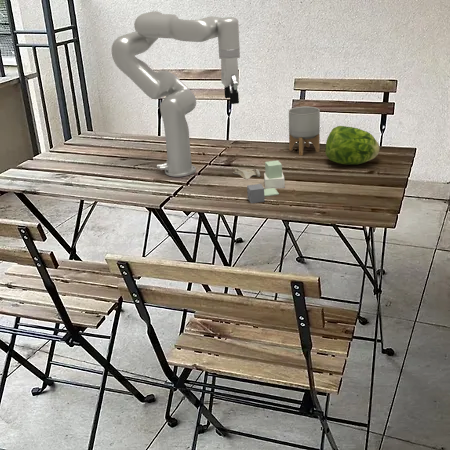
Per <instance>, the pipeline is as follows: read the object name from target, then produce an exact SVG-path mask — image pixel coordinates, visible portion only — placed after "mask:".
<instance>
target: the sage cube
mask: <svg viewBox="0 0 450 450" xmlns="http://www.w3.org/2000/svg"><path fill="white" fill-rule="evenodd" d="M264 165H265V166H264V169H265V170H264V171H265V172H264V173H265V174H266V176H267V177H268V178H269V179H273V178H281V177H282V172H283V165H282V163H281V162H280V160H278V159H277V160H270V161H265V162H264Z"/></svg>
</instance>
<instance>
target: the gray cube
mask: <svg viewBox="0 0 450 450" xmlns="http://www.w3.org/2000/svg"><path fill="white" fill-rule="evenodd" d="M264 189H265V187H264V186H263V184H262V183H257V184H256V183H255V184H248V185H246V190H247V191H246V193H247V194H246V195H247V199H248V201H249V203H250V204H256V203H264V202H265V200H266V199H265V197H264Z"/></svg>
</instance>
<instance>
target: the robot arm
mask: <svg viewBox="0 0 450 450" xmlns="http://www.w3.org/2000/svg"><path fill="white" fill-rule="evenodd" d="M133 24H134V30H135V31H133V32H130V33H125V34H122V35H120V36H118V37H117V38H116V39H114V41H113V43H112V44H111V56H112V57H111V58H112V60H113V62H114V64H115V66H116V67H117V68H118V69H119V70H120V71H121V72H122V73H123V74H124V75H126V76H127V77H128V78H129V79H130V80H131V81H132V82H133V83H134V85H136V86H137V87H138V88H139V89H140V90H141V91H142V92H143V93H144V94H145V95H146V96H147V97H148V98H149V99H151V100H159V99H161V98H163V100H162V101H161V103H160V107H159V108H160V109H159V110H160V116H161V118H162V121H163V128H164V136H165V146H166V148H165V149H166V156H167V158H166V162H164V163H156V170H157V169H158V170H160V171H163V170H164V174H165V175H166V176H169V177H174V178H175V177H176V178H177V177H187V176H189V175H190V176H191V175H193V174H194V173H196V171H197V168H196V166H195V165H193V164H192V154H191V152H192V151H191V140H190V139H191V138H190V129H189V124H188V121H187V118H186V115H188V114H189V113H191V112H192V111H193V110H194V109H195V108H196V106H197V98H196V95H195V94H194V93H193V91H192V90H191V89H190V88H189V87H188V86H187V85H186V84H185V83H184V82H183V81H182V80H180V78H179V77H177V75H176V74H174V73H172V72H171V71H169V70H160V71H155V70H154V69H152V68H151V67H150V66H149V65H148V64H147V63H146V62H145V61H143V60H142V59H139V58H138V57H136V56H137V55H141V54H143V53H145V52H146V51H148V50H149V49H150V48H151V46H152V45H154V44H155V42H157V40H158V39H171V40H172V39H173V40H177V41H180V42H181V41H182V42H190V43H191V42H193V43H203V42H207V41H209V40H212V39H217V41H218V42H217V43H218V56H219V57H218V58H219V60H220V67H221V68H220V76H221V77H220V79H221V84H223V86H224V89H223V90H224V98H225V99H229V104H230V105H236V104H239V103H240V99H239V98H240V94H239V87H238V86H239V84H240V76H239V73H240V72H239V62H238V59H239V58H240V57H241V51H240V49H241V48H240V32H239V31H240V30H239V27H240V25H239V20H238V18H236V17H234V16H232V17H231V16H230V17H229V16H228V17H219V16H207V17H203V18H200V19H184V18H183V19H182V18H179V17H178V16H177V15H176V14H174V13H172V14H171V13H170V14H168V13H162V12H159V11H157V10H153V11H150V12H149V11H148V12H144V13H142V14H139V15H138V16H137V17H136V19H134V23H133Z"/></svg>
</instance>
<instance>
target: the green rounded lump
mask: <svg viewBox="0 0 450 450" xmlns="http://www.w3.org/2000/svg"><path fill="white" fill-rule="evenodd" d="M380 149H381V148H380V144H379V142H378V141H377V140H376V139H375V137H374V135H372V134H371V133H370V132H368V131H367V130H366V131H365V130H363V129H360V128H357V127H353V126H346V125H345V126H344V125H338V126H335V127H333V128H332V130H331V131H330V133H329V134H328V136H327V138H326V142H325V155H326V157H327V159H328V160H329V161H332V162H334V163H337V164H339V165H350V166H351V165H360V164H361V165H362V164H364V163H365V164H366V163H367V162H369V161H371V160H374V159H375V158H376V157H377V156H378V154H379V153H380Z"/></svg>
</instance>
